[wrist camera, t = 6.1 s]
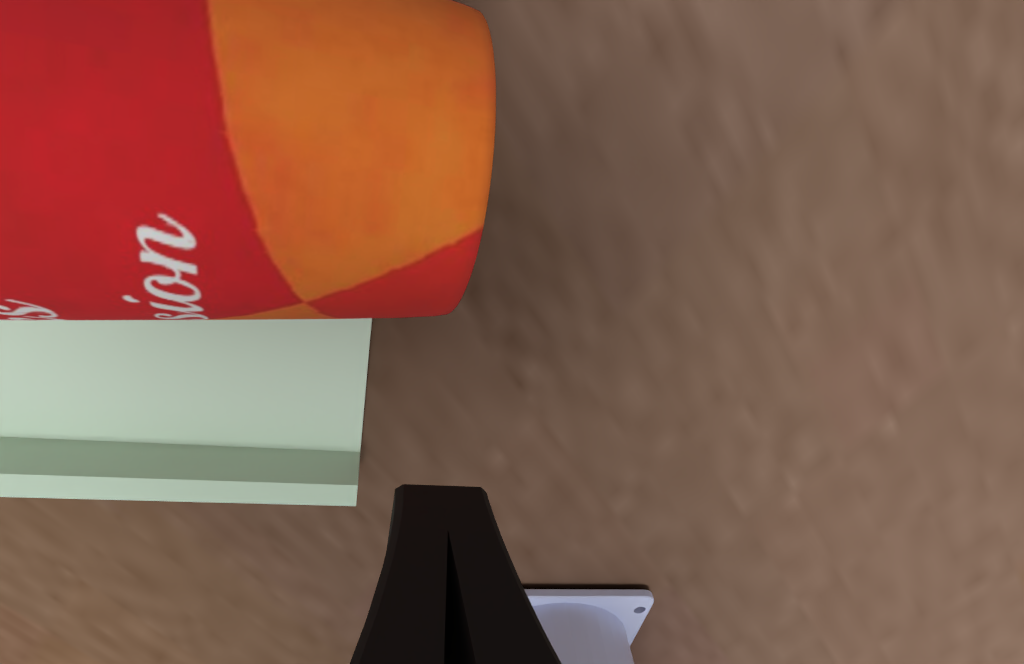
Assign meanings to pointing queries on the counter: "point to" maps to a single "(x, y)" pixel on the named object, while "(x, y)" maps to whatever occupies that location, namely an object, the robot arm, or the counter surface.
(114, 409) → the tray
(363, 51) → the coffee cup
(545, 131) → the counter surface
